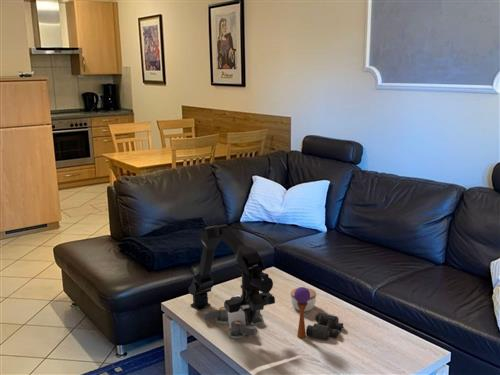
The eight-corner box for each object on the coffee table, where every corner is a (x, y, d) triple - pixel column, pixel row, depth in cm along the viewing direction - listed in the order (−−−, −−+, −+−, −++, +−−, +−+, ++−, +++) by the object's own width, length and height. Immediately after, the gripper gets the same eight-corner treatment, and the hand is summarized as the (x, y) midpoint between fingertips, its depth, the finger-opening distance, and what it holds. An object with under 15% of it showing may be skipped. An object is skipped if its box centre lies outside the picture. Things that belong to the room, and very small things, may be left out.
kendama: (312, 335, 189) (313, 287, 185) (304, 341, 185) (305, 292, 180) (299, 330, 193) (299, 283, 188) (290, 336, 188) (291, 288, 184)
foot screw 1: (227, 315, 204) (227, 305, 203) (229, 319, 200) (229, 310, 199) (203, 318, 201) (203, 309, 200) (205, 323, 198) (205, 313, 197)
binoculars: (345, 325, 197) (346, 311, 196) (333, 344, 183) (333, 328, 182) (319, 319, 202) (319, 305, 201) (305, 337, 188) (305, 322, 187)
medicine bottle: (246, 329, 193) (244, 301, 190) (229, 329, 195) (226, 301, 192) (250, 320, 200) (247, 293, 197) (233, 320, 201) (230, 293, 198)
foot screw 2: (260, 321, 198) (260, 311, 198) (250, 321, 198) (250, 311, 198) (260, 310, 208) (260, 300, 207) (250, 310, 208) (250, 300, 207)
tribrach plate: (204, 324, 198) (204, 323, 198) (238, 308, 212) (238, 307, 212) (236, 341, 185) (236, 339, 185) (271, 323, 199) (271, 321, 199)
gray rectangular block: (229, 333, 189) (229, 323, 188) (234, 329, 193) (234, 319, 192) (252, 339, 185) (252, 329, 184) (257, 334, 188) (257, 324, 187)
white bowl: (287, 312, 208) (287, 292, 206) (294, 302, 218) (295, 282, 216) (312, 316, 204) (312, 296, 202) (318, 306, 214) (318, 286, 212)
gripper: (235, 297, 171) (235, 338, 174) (282, 287, 178) (281, 326, 182) (223, 285, 181) (223, 324, 184) (268, 276, 188) (268, 314, 192)
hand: (249, 322), depth 185 cm, fingers closed
